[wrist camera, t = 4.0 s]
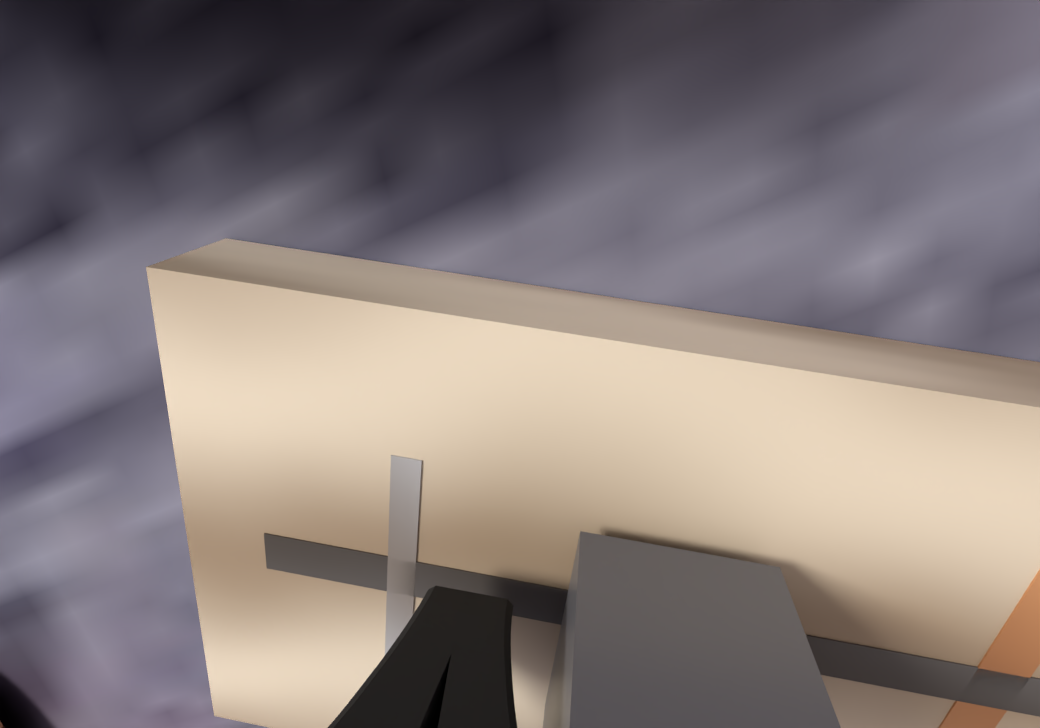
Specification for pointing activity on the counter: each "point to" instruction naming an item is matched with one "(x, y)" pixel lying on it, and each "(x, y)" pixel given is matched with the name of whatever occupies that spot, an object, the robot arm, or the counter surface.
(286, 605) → the slider board
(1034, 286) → the counter surface
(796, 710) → the fader knob
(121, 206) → the counter surface
